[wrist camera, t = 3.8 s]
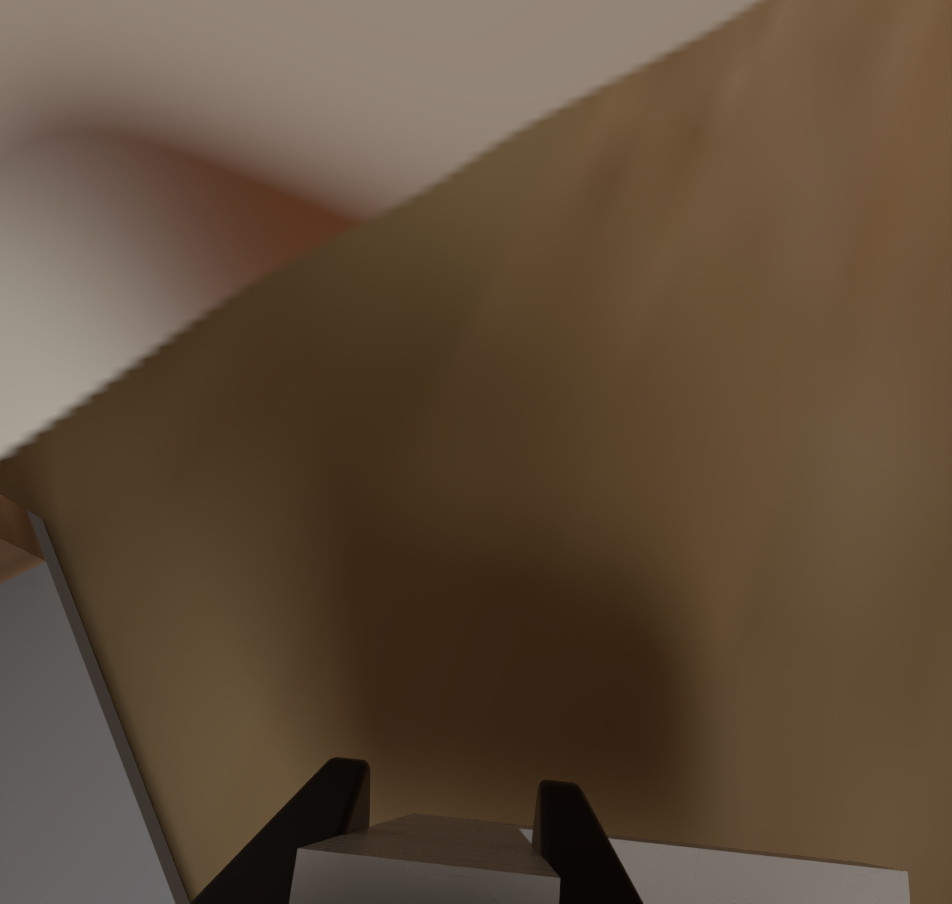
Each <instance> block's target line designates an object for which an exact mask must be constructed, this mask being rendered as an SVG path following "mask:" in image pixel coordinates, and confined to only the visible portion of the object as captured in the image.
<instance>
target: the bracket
mask: <svg viewBox="0 0 952 904" xmlns="http://www.w3.org/2000/svg"><path fill="white" fill-rule="evenodd" d="M532 834H533V826H526V825H517V824H507V823H498V822H489V821H480V820H471V819H462V818H453V817H444V816H435V815H426V814H417V813H413V814H410V815H406V816H403V817H400V818H396V819H393V820H390V821H387V822H383V823H380V824H377V825H373V826H370V827H369V828H366V829H363V830H360V831H356V832H353V833H350V834H347V835H340V836H337V837H334V838H330V839H327V840H324V841H320V842H317V843H314V844H311V845H307V846H304V847H301V848H298V850H297V856H296V862H295V868H294V875H293V881H292V887H291V893H290V899H289V904H559V895H560V877H559V876H558V875H557V873H556V872H555V871H554V870H553V869H552V868H551V866H550V865H549V864H548V863H547V862H546V860H545V859H544V858H543V857H540V856H539V855H538V853H537V852H536V851H535V850H534V849H533V847H532V846H531V844H532ZM606 835H607V834H606ZM607 837H608V839H609V841H610V843H611V844H612V846H613V848H614V850H615V852H616V854H617V855H618V857H619V859H620V861H621V863H622V865H623V866H624V868H625V870H626V872H627V874H628V876H629V877H630V879H631V881H632V883H633V885H634V887H635V888H636V890H637V892H638V894H639V896H640V898H641V900H642V901H643V903H644V904H910V895H909V882H908V871H902V870H897V869H892V868H887V867H881V866H876V865H871V864H866V863H861V862H852V861H843V860H834V859H825V858H816V857H807V856H798V855H788V854H779V853H770V852H761V851H752V850H743V849H734V848H725V847H716V846H707V845H698V844H689V843H680V842H671V841H662V840H652V839H643V838H634V837H625V836H616V835H607Z"/></svg>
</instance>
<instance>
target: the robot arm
mask: <svg viewBox="0 0 952 904" xmlns="http://www.w3.org/2000/svg"><path fill="white" fill-rule="evenodd" d="M369 816H370V766H369V764H368V763H367V762H366V761H365V760H359V759H349V758H340V757H335V758H332V759H330V760H328V761H327V762H326V763H325V764H324V765H323V766H322V767H321V769H320V770H319V771H318V772H317V773H316V774H315V775H314V776H313V777H312V778H311V779H310V780H309V781H308V782H307V783H306V784H305V785H304V786H303V787H302V788H301V789H300V790H299V791H298V792H297V793H296V794H295V795H294V796H293V797H292V798H291V799H290V801H289V802H288V803H287V804H286V805H285V806H284V807H283V808H282V809H281V810H280V811H279V812H278V813H277V814H276V815H275V816H274V817H273V818H272V819H271V820H270V821H269V822H268V823H267V824H266V825H265V826H264V827H263V828H262V829H261V830H260V832H259V833H258V834H257V835H256V836H255V837H254V838H253V839H252V840H251V841H250V842H249V843H248V844H247V845H246V846H245V847H244V848H243V849H242V850H241V851H240V852H239V853H238V854H237V855H236V856H235V857H234V858H233V859H232V860H231V861H230V863H229V864H228V865H227V866H226V867H225V868H224V869H223V870H222V871H221V872H220V873H219V874H218V875H217V876H216V877H215V878H214V879H213V880H212V881H211V882H210V883H209V884H208V885H207V886H206V887H205V888H204V889H203V890H202V891H201V892H200V894H199V895H198V896H197V897H196V898H195V899H194V900H193V901H192V902H191V903H190V904H289V899H290V893H291V887H292V881H293V875H294V868H295V862H296V856H297V850H298V848H301V847H304V846H307V845H311V844H314V843H317V842H320V841H324V840H327V839H330V838H334V837H337V836H340V835H347V834H350V833H353V832H356V831H360V830H363V829H366V828H369ZM531 846H532V847H533V849H534V850H535V851H536V852H537V853H538V855H539V856H540V857H543V858H544V859H545V860H546V862H547V863H548V864H549V865H550V866H551V868H552V869H553V870H554V871H555V872H556V873H557V875H558V876H559V877H560V895H559V904H644V903H643V901H642V900H641V898H640V896H639V894H638V892H637V890H636V888H635V887H634V885H633V883H632V881H631V879H630V877H629V876H628V874H627V872H626V870H625V868H624V866H623V865H622V863H621V861H620V859H619V857H618V855H617V854H616V852H615V850H614V848H613V846H612V844H611V843H610V841H609V839H608V837H607V835H606V833H605V831H604V830H603V828H602V826H601V824H600V822H599V820H598V819H597V817H596V815H595V813H594V811H593V809H592V808H591V806H590V804H589V802H588V800H587V798H586V797H585V795H584V793H583V791H582V790H581V788H580V787H579V786H578V785H577V784H575V783H572V782H563V781H554V780H543V781H541V783H540V784H539V787H538V793H537V801H536V809H535V817H534V826H533V834H532V844H531Z"/></svg>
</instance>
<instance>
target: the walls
mask: <svg viewBox="0 0 952 904" xmlns="http://www.w3.org/2000/svg"><path fill="white" fill-rule="evenodd" d="M44 562H46V560H45V558H44V555H43V552H42V550H41V547H40V544H39V542H38V539H37V536H36V534H35V531H34V529H33V526H32V523H31V521H30V518H29V515H28V513H27V510H26V509H25V508H23V507H21V506H20V505H18V504H16V503H15V502H13V501H11V500H9V499H8V498H6V497H4V496H3V495H1V494H0V584H2V583H4V582H6V581H8V580H10V579H12V578H14V577H16V576H18V575H20V574H22V573H24V572H26V571H28V570H30V569H32V568H34V567H36V566H38V565H40V564H42V563H44Z"/></svg>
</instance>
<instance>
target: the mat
mask: <svg viewBox="0 0 952 904" xmlns="http://www.w3.org/2000/svg"><path fill="white" fill-rule="evenodd" d="M27 513H28V515H29V518H30V521H31V523H32V526H33V529H34V531H35V534H36V536H37V539H38V542H39V544H40V547H41V550H42V552H43V555H44V558H45V560H46V562H44V563H42V564H40V565H38V566H36V567H34V568H32V569H30V570H28V571H26V572H24V573H22V574H20V575H18V576H16V577H14V578H12V579H10V580H8V581H6V582H4V583H2V584H0V904H190V903H189V900H188V897H187V895H186V892H185V890H184V887H183V884H182V882H181V879H180V877H179V874H178V871H177V869H176V866H175V864H174V861H173V858H172V856H171V853H170V851H169V848H168V845H167V843H166V840H165V838H164V835H163V832H162V830H161V827H160V825H159V822H158V819H157V817H156V814H155V811H154V809H153V806H152V804H151V801H150V798H149V796H148V793H147V791H146V788H145V785H144V783H143V780H142V778H141V775H140V772H139V770H138V767H137V765H136V762H135V759H134V757H133V754H132V752H131V749H130V746H129V744H128V741H127V739H126V736H125V733H124V731H123V728H122V726H121V723H120V720H119V718H118V715H117V713H116V710H115V707H114V705H113V702H112V700H111V697H110V694H109V692H108V689H107V687H106V684H105V681H104V679H103V676H102V673H101V671H100V668H99V666H98V663H97V660H96V658H95V655H94V653H93V650H92V647H91V645H90V642H89V640H88V637H87V634H86V632H85V629H84V627H83V624H82V621H81V619H80V616H79V614H78V611H77V608H76V606H75V603H74V601H73V598H72V595H71V593H70V590H69V588H68V585H67V582H66V580H65V577H64V575H63V572H62V569H61V567H60V564H59V562H58V559H57V556H56V554H55V551H54V549H53V546H52V543H51V541H50V538H49V535H48V533H47V530H46V528H45V525H44V522H43V520H42V519H41V518H40V517H38V516H36V515H35V514H33V513H31V512H30V511H28V510H27Z"/></svg>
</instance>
